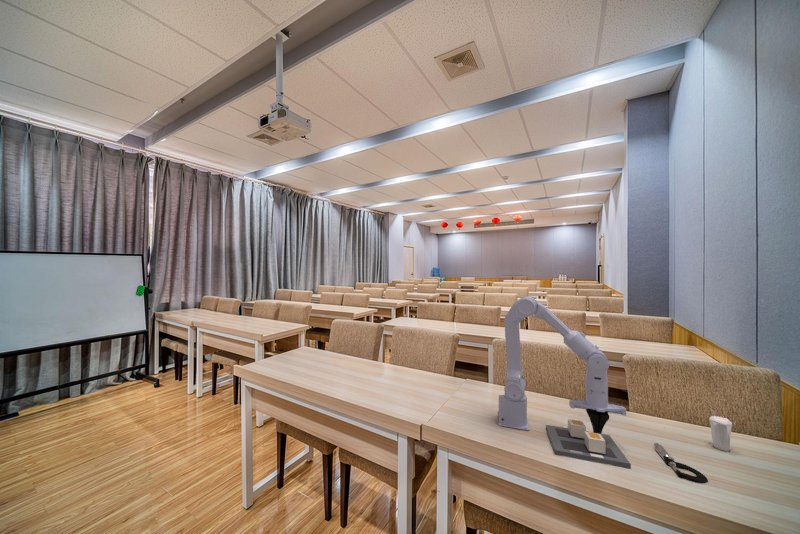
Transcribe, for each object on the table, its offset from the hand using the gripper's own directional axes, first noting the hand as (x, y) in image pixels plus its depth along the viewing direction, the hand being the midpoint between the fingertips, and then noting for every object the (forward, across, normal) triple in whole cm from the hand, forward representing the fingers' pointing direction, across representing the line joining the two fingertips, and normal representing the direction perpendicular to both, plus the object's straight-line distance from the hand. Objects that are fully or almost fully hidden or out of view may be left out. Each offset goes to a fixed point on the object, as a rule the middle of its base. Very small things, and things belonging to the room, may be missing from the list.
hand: (597, 434), depth 88 cm
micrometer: (+3, +18, -4) cm, 19 cm away
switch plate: (+2, -5, -4) cm, 6 cm away
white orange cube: (+1, -3, -7) cm, 8 cm away
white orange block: (+1, -5, 0) cm, 6 cm away
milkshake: (+3, +35, +10) cm, 36 cm away
